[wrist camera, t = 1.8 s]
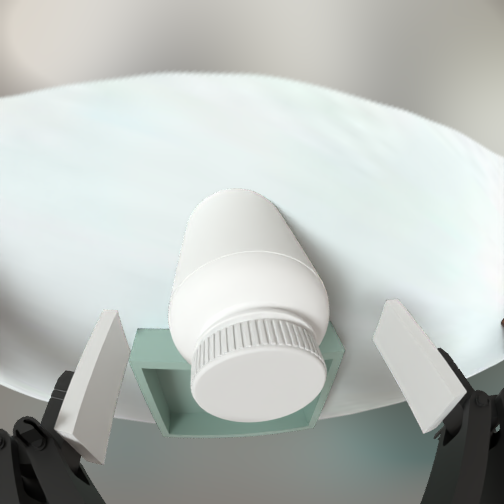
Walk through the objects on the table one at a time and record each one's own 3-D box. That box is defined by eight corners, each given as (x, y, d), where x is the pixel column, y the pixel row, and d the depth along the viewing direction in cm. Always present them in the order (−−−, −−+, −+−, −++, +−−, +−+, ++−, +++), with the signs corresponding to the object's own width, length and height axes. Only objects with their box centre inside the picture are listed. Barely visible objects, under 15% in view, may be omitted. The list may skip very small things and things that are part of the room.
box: (165, 410, 33) (163, 436, 29) (137, 328, 26) (128, 360, 22) (306, 402, 36) (313, 428, 32) (330, 320, 28) (345, 350, 24)
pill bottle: (218, 290, 25) (226, 448, 12) (167, 217, 22) (108, 365, 8) (298, 250, 24) (374, 392, 11) (256, 167, 21) (328, 264, 7)
